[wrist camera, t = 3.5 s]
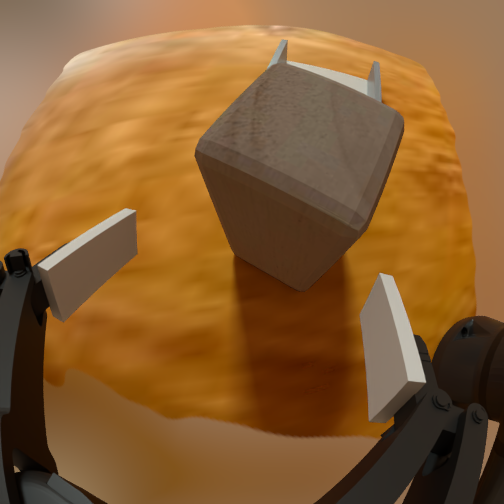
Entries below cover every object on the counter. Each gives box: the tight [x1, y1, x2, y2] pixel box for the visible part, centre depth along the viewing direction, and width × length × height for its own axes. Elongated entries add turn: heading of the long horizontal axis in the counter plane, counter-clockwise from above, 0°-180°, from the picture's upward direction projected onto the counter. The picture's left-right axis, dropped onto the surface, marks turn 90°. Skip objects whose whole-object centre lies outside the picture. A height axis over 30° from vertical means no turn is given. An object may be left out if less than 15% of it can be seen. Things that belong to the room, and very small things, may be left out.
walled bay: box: [267, 40, 382, 103], centre depth 37 cm, size 13×18×6 cm
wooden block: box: [195, 63, 404, 292], centre depth 23 cm, size 10×10×20 cm
